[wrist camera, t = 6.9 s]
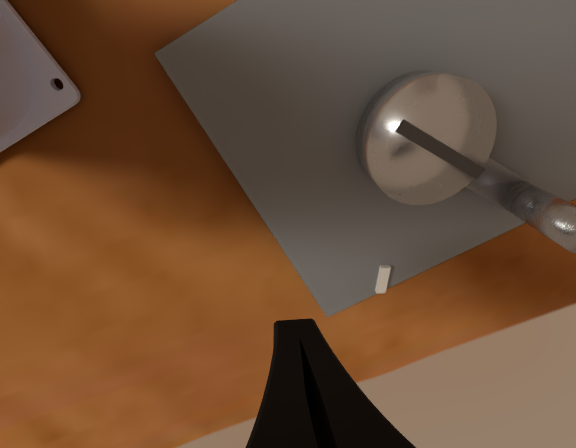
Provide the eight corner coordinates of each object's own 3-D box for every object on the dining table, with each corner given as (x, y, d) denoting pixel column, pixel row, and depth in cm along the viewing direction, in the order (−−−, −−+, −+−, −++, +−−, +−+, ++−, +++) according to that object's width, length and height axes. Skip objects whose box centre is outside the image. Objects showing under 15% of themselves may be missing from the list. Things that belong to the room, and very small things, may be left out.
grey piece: (333, 160, 18) (365, 203, 13) (403, 44, 15) (470, 47, 11) (482, 237, 21) (549, 292, 17) (557, 151, 19) (656, 187, 14)
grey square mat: (158, 52, 16) (152, 53, 15) (546, -194, 13) (575, -215, 12) (324, 307, 24) (328, 320, 23) (579, 184, 22) (598, 192, 21)
